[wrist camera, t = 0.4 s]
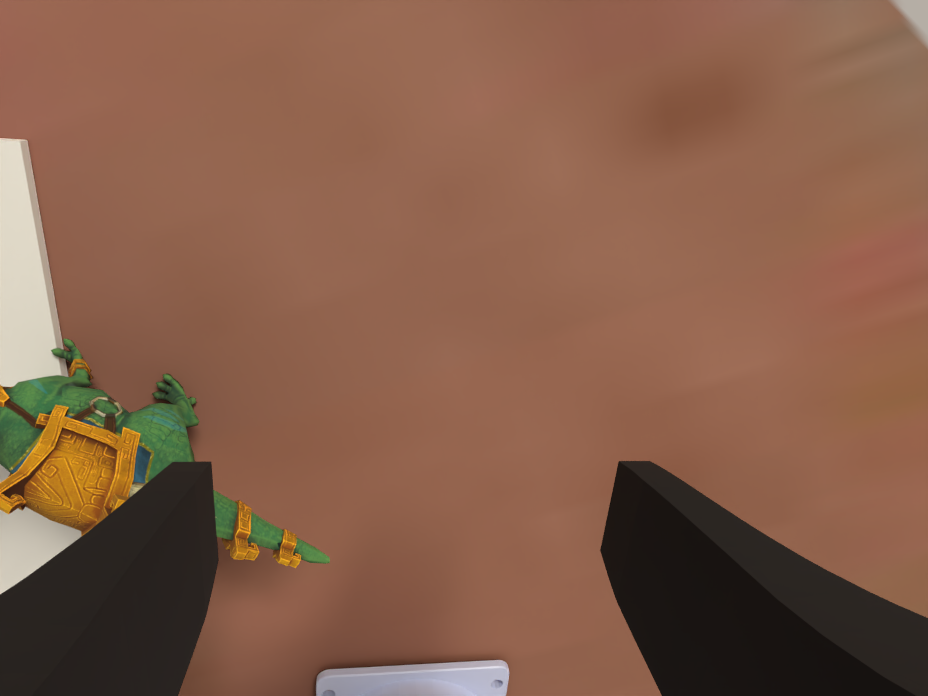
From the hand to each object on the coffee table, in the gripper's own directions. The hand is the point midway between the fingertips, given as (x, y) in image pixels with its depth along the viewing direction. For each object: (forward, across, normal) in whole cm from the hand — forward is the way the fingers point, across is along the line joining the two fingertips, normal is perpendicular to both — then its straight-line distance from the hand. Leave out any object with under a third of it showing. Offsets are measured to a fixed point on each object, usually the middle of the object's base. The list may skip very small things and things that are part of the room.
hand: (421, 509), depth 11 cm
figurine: (+10, +8, +3) cm, 13 cm away
